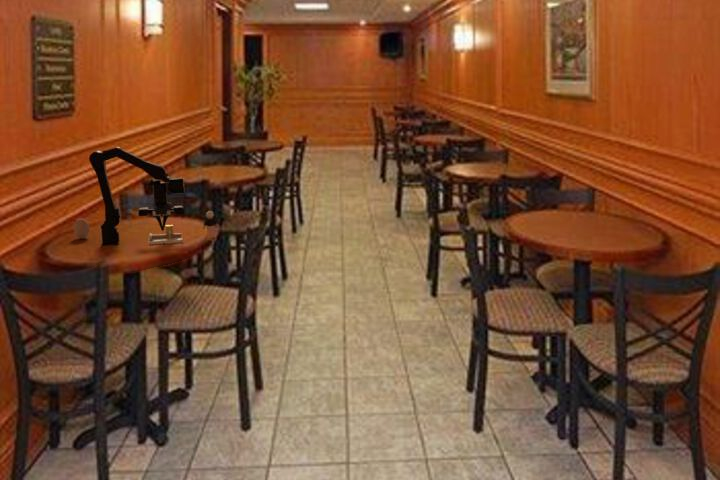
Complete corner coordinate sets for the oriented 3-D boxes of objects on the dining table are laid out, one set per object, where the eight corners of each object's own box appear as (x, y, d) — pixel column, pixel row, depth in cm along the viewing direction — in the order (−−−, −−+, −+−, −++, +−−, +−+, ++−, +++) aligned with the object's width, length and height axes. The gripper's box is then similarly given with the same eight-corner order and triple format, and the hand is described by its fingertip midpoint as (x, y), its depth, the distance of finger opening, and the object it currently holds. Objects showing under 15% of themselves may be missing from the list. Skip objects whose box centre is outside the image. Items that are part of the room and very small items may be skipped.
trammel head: (166, 238, 327) (165, 227, 326) (166, 235, 333) (165, 225, 332) (173, 238, 327) (172, 227, 326) (173, 235, 333) (172, 224, 332)
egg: (93, 237, 339) (91, 217, 337) (83, 240, 333) (81, 220, 331) (81, 236, 341) (80, 216, 339) (71, 239, 335) (69, 219, 333)
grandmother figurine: (214, 237, 336) (213, 209, 334) (220, 238, 334) (219, 210, 331) (201, 240, 331) (199, 211, 328) (207, 241, 328) (205, 212, 325)
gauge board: (148, 244, 324) (148, 236, 324) (149, 239, 334) (148, 232, 333) (182, 242, 328) (182, 234, 327) (182, 237, 337) (181, 230, 336)
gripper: (136, 198, 317) (139, 235, 321) (183, 196, 322) (185, 232, 325) (137, 194, 328) (140, 230, 331) (182, 192, 332) (184, 227, 336)
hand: (162, 230), depth 330 cm, fingers closed
